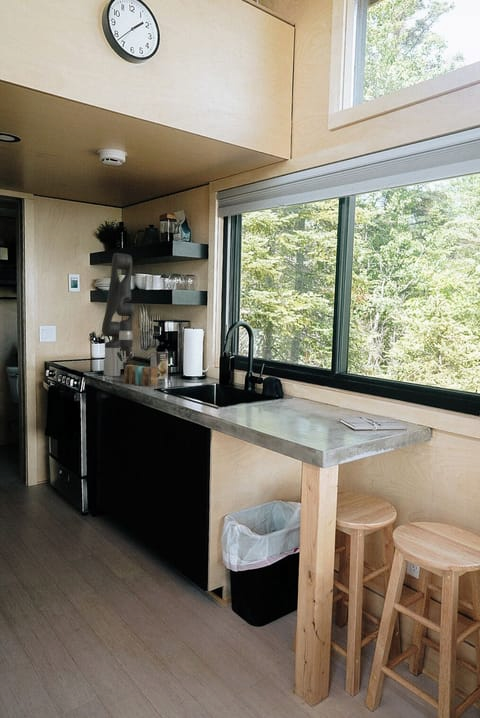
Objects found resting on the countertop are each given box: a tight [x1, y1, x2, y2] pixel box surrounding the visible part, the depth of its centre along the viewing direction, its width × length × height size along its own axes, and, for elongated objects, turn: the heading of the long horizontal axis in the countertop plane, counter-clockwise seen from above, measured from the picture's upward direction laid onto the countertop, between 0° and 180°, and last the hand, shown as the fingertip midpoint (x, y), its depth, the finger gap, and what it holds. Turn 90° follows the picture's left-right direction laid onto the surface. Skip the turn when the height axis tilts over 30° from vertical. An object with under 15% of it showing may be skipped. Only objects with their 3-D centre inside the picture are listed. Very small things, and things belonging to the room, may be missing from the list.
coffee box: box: [150, 351, 169, 380], centre depth 321 cm, size 9×6×16 cm
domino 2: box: [128, 365, 139, 385], centre depth 297 cm, size 2×5×10 cm, turn 145°
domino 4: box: [141, 366, 151, 387], centre depth 291 cm, size 2×5×10 cm, turn 145°
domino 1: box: [122, 364, 135, 384], centre depth 299 cm, size 2×5×10 cm, turn 146°
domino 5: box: [147, 367, 159, 387], centre depth 288 cm, size 2×5×10 cm, turn 145°
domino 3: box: [135, 365, 146, 386], centre depth 294 cm, size 2×5×10 cm, turn 146°
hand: (125, 369), depth 300 cm, fingers closed
